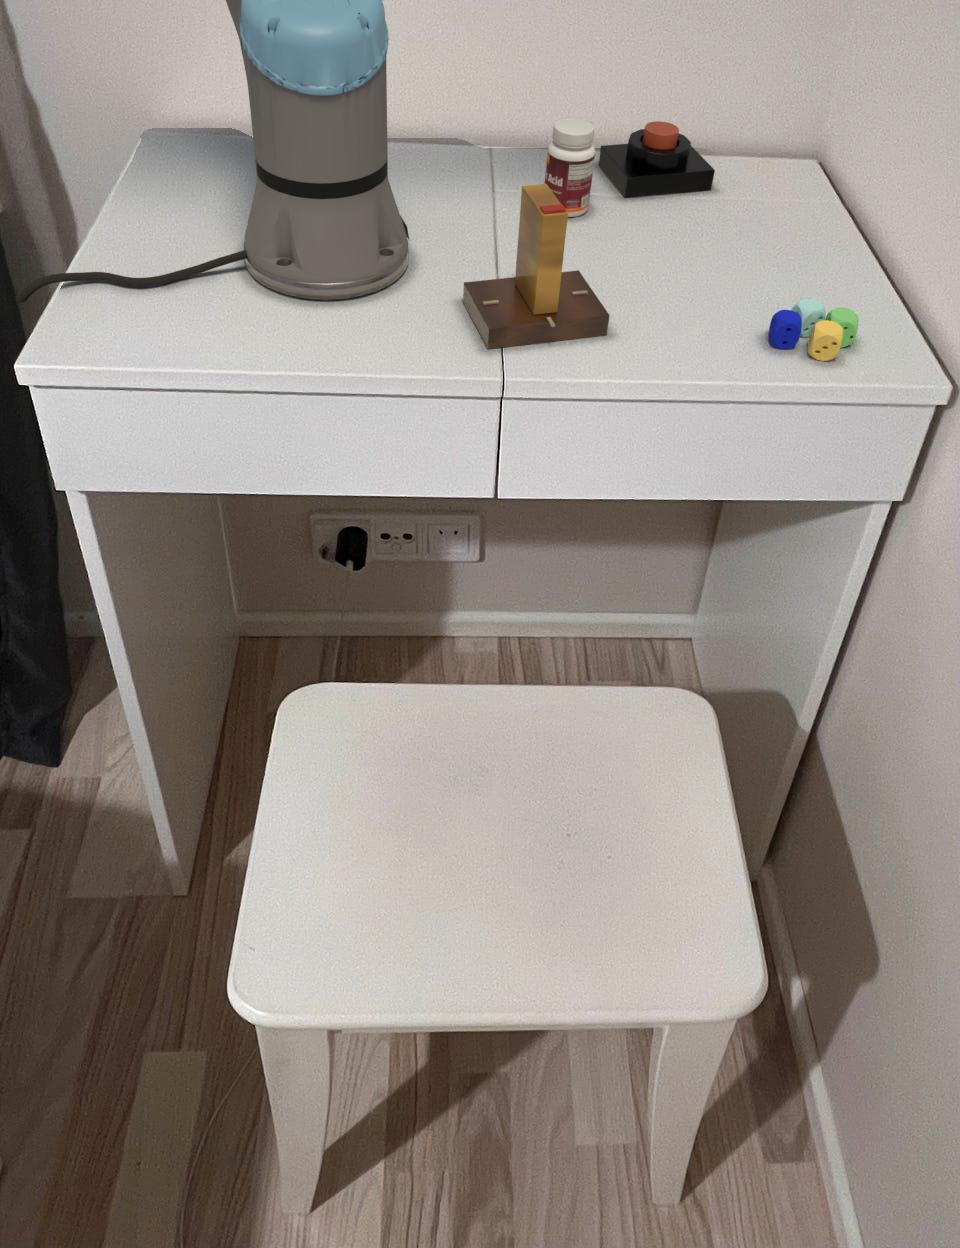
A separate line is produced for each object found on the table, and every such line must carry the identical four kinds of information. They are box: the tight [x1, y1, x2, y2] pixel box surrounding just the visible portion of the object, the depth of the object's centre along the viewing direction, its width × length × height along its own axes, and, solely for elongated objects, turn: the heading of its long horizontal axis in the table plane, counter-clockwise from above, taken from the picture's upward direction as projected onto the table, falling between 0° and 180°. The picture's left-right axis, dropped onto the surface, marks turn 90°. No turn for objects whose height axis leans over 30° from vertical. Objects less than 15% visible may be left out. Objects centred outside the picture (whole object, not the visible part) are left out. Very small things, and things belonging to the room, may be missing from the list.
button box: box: [598, 128, 716, 199], centre depth 120 cm, size 10×8×4 cm
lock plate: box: [462, 270, 610, 350], centre depth 99 cm, size 11×10×2 cm
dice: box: [768, 298, 859, 362], centre depth 98 cm, size 8×3×6 cm
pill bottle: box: [544, 117, 596, 218], centre depth 112 cm, size 5×5×8 cm
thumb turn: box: [514, 183, 569, 315], centre depth 95 cm, size 6×2×9 cm, turn 16°
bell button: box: [643, 120, 680, 150], centre depth 118 cm, size 4×4×2 cm
